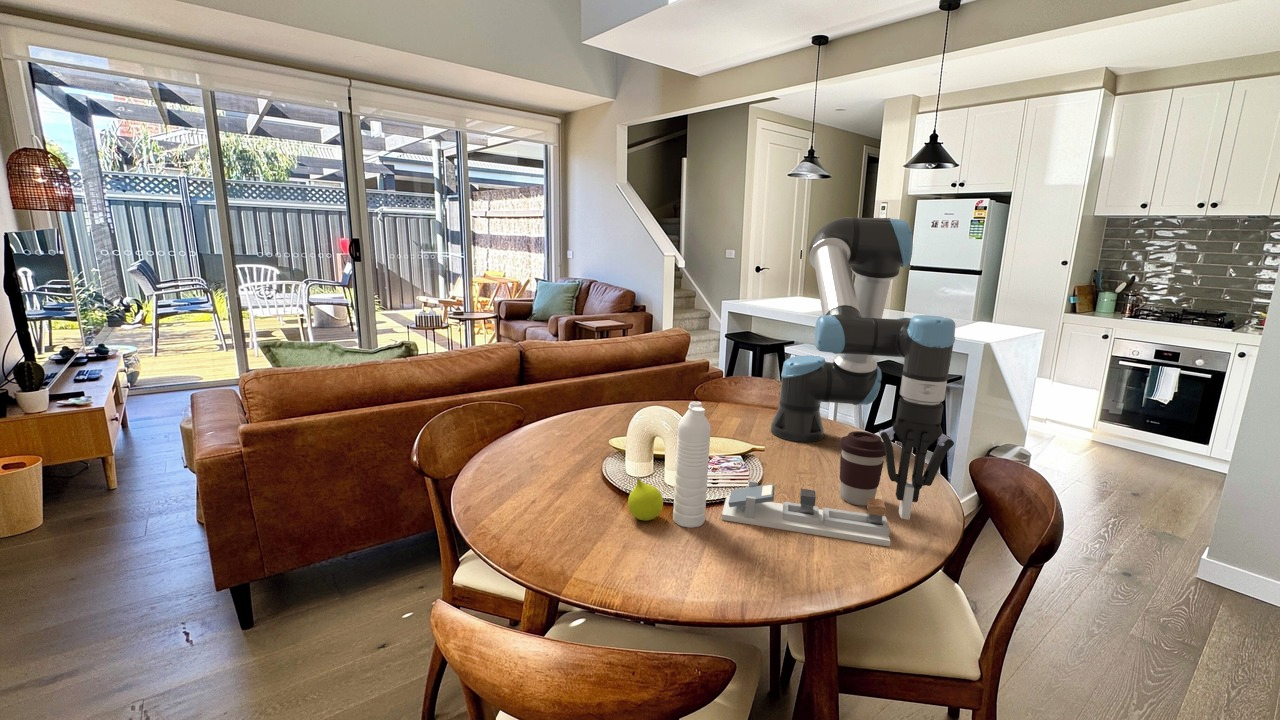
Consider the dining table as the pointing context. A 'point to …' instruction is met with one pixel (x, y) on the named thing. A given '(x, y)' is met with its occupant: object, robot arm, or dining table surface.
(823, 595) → the dining table surface
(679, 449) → the water bottle
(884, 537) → the panel
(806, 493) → the slider
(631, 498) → the ornament
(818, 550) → the dining table surface
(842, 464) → the coffee cup
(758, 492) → the rocker
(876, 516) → the slider
